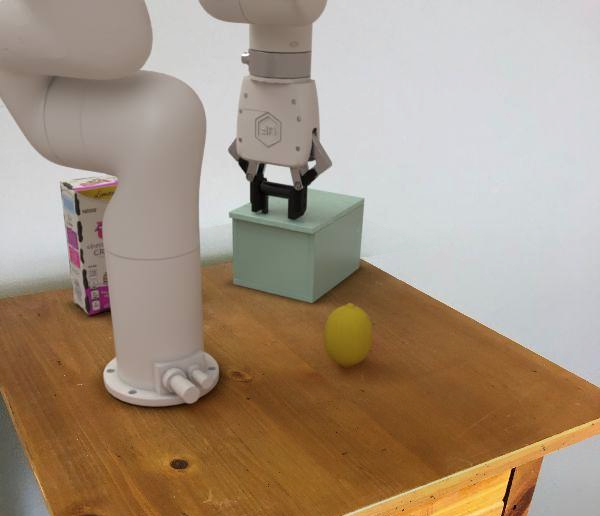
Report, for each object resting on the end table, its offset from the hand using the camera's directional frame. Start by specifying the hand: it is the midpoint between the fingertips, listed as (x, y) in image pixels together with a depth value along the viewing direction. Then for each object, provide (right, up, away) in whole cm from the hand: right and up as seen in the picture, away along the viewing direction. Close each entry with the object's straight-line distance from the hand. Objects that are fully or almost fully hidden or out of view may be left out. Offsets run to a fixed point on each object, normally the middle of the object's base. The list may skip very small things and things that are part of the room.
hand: (277, 212), depth 100 cm
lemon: (+8, -21, -13) cm, 27 cm away
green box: (+3, -7, +11) cm, 13 cm away
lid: (+3, +2, +5) cm, 6 cm away
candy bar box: (-21, -12, +1) cm, 24 cm away
